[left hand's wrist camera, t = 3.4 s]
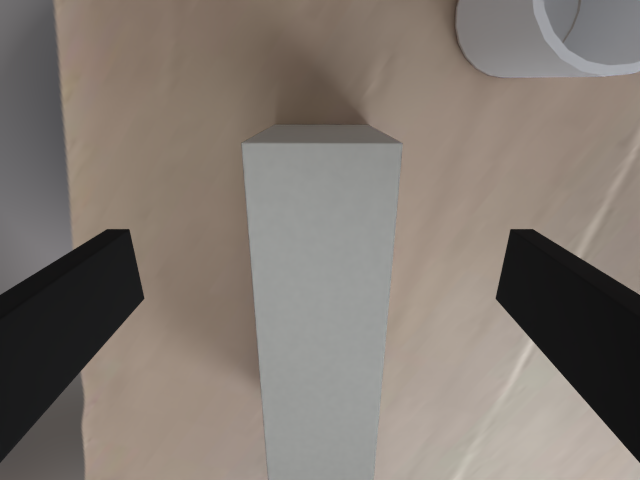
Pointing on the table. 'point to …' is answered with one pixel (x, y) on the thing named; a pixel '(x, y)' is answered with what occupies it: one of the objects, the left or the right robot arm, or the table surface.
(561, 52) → the mug
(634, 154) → the table surface
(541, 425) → the table surface
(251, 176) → the box
